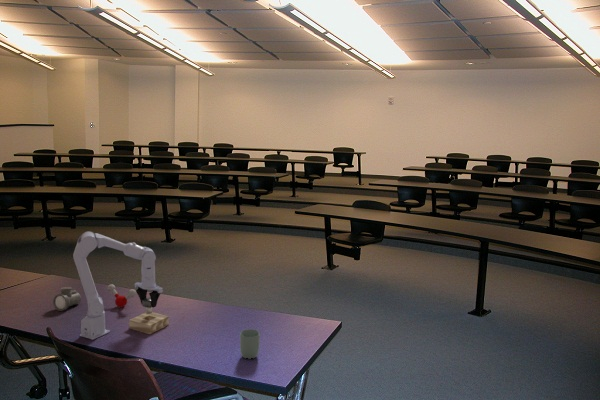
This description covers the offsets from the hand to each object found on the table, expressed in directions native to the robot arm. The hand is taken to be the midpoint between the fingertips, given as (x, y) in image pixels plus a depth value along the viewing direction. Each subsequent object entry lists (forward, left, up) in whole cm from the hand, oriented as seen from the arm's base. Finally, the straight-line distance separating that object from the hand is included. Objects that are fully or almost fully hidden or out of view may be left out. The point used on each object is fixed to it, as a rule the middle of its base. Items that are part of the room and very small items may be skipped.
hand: (148, 305), depth 235 cm
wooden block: (0, 0, -10) cm, 10 cm away
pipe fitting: (-2, +49, -10) cm, 50 cm away
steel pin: (0, 0, -3) cm, 3 cm away
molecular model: (+11, +28, -10) cm, 32 cm away
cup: (-2, -54, -10) cm, 55 cm away
